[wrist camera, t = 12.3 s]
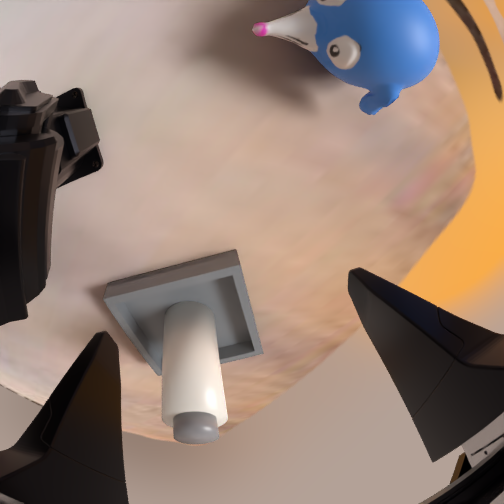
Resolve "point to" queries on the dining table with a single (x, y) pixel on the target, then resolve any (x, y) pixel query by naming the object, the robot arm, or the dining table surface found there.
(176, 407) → the bottle
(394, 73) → the blue mole toy
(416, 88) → the dining table surface
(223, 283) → the dish
